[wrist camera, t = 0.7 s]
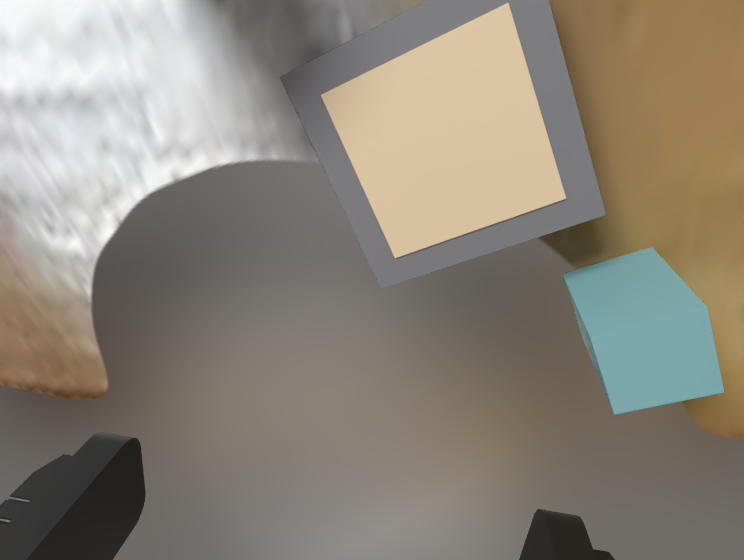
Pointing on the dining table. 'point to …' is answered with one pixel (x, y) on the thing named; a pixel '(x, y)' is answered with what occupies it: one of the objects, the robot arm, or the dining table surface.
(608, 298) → the teal block
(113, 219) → the dining table surface
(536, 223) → the plinth
